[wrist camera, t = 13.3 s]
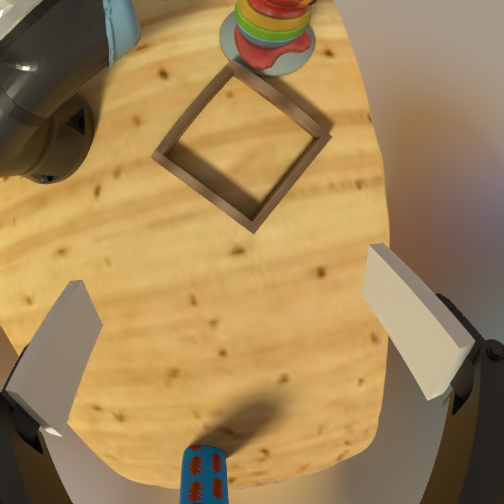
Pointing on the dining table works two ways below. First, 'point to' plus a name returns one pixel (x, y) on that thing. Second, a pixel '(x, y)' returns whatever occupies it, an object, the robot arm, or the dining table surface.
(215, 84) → the collar
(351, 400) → the dining table surface
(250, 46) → the stacking bear
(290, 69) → the pad
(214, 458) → the thermos
